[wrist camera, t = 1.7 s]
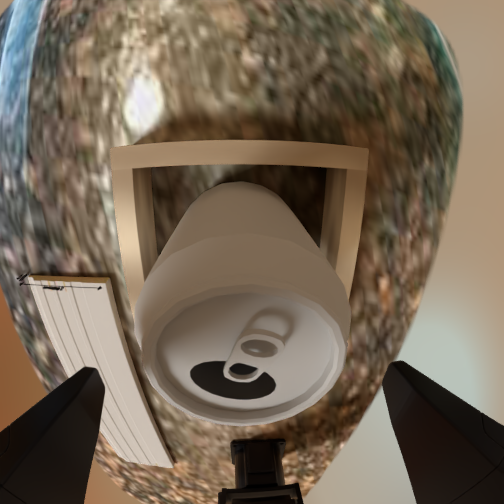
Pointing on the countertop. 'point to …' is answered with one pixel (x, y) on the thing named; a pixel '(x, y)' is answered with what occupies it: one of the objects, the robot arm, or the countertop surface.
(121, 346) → the baseboard
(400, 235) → the countertop surface
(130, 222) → the rack
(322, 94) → the countertop surface
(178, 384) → the can
